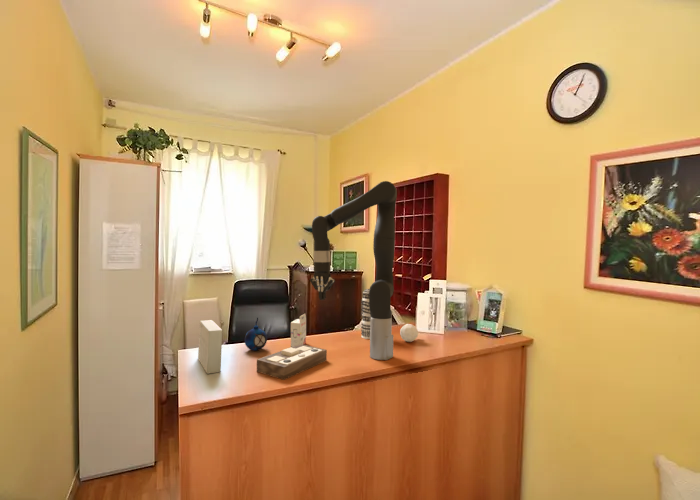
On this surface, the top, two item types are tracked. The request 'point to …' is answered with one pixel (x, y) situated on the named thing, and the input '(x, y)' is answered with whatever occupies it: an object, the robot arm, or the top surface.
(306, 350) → the button right
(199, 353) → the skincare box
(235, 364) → the top surface
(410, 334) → the white rounded piece
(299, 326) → the ink cartridge box
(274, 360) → the button left
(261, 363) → the button panel
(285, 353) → the button middle
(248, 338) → the bomb
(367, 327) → the decorative candle
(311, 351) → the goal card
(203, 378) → the top surface
